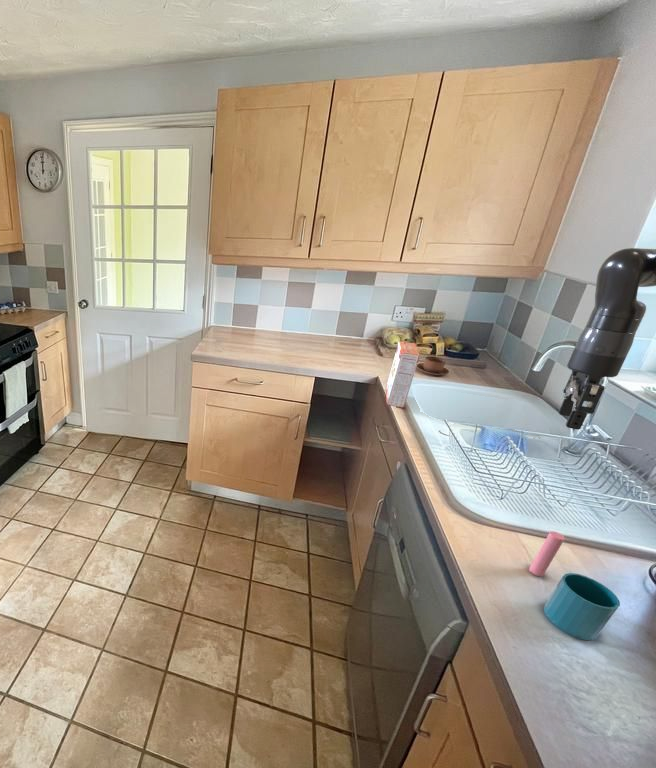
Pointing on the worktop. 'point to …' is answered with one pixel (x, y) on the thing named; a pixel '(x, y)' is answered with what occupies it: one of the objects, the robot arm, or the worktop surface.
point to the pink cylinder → (546, 553)
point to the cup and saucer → (433, 366)
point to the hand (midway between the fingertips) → (568, 421)
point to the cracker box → (401, 374)
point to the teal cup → (581, 606)
